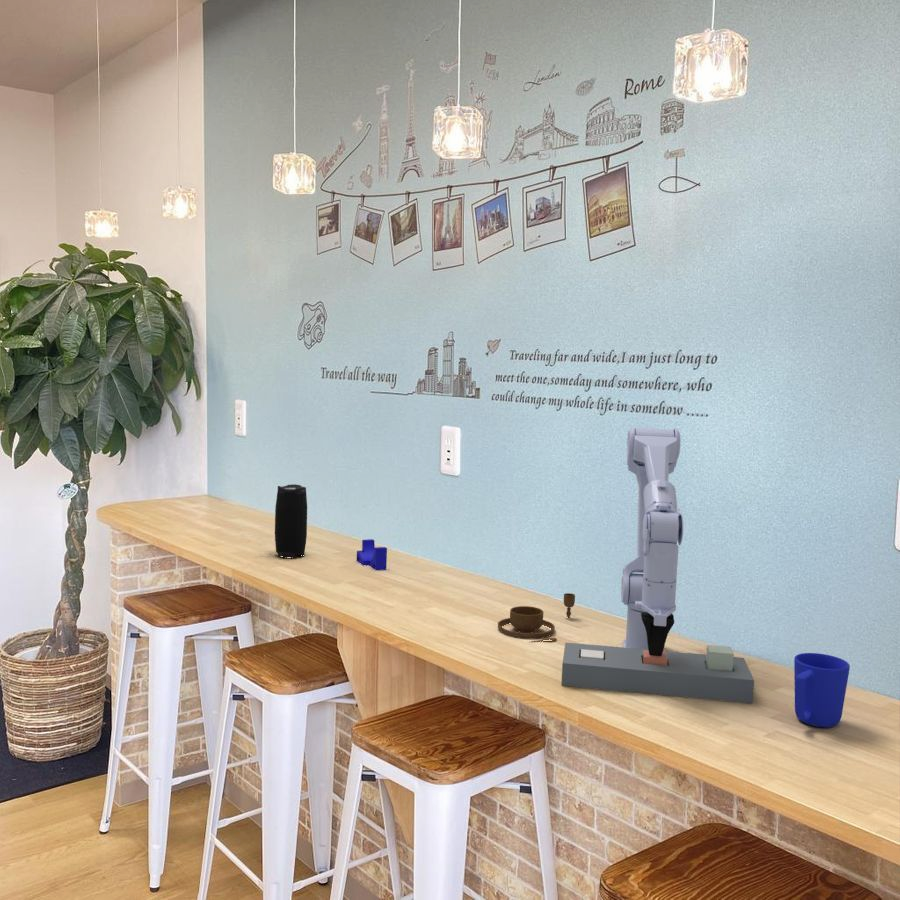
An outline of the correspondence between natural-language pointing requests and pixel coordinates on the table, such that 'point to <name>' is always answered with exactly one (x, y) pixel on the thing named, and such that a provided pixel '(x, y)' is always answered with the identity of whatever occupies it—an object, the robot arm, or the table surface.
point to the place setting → (532, 620)
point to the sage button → (719, 658)
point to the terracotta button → (654, 658)
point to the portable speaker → (291, 520)
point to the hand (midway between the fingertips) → (655, 654)
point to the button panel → (656, 674)
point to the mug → (820, 688)
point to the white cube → (592, 654)
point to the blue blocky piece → (372, 555)
